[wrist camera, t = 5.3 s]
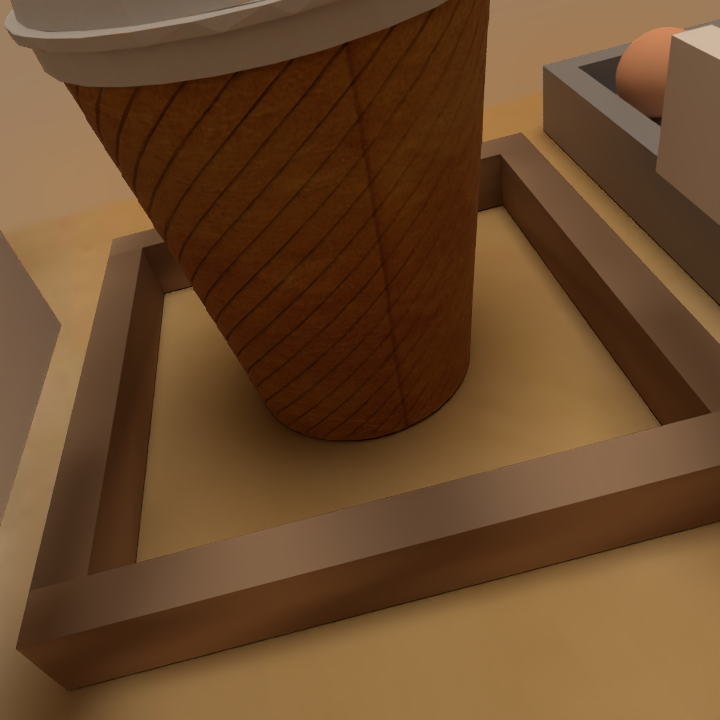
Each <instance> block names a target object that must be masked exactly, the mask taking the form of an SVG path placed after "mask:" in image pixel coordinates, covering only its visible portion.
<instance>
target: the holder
mask: <svg viewBox="0 0 720 720" xmlns="http://www.w3.org/2000/svg"><path fill="white" fill-rule="evenodd" d="M499 205H504V206H505V208H506V209H507V211H508V212H509V213H510V215H511V216H512V218H513V219H514V220H515V222H516V223H517V225H518V226H519V227H520V229H521V230H522V231H523V233H524V234H525V236H526V237H527V238H528V240H529V241H530V243H531V244H532V245H533V247H534V248H535V250H536V251H537V252H538V254H539V255H540V256H541V258H542V259H543V261H544V262H545V263H546V265H547V266H548V268H549V269H550V270H551V272H552V273H553V274H554V276H555V277H556V279H557V280H558V281H559V283H560V284H561V286H562V287H563V288H564V290H565V291H566V293H567V294H568V295H569V297H570V298H571V299H572V301H573V302H574V304H575V305H576V306H577V308H578V309H579V311H580V312H581V313H582V315H583V316H584V318H585V319H586V320H587V322H588V323H589V324H590V326H591V327H592V329H593V330H594V331H595V333H596V334H597V336H598V337H599V338H600V340H601V341H602V343H603V344H604V345H605V347H606V348H607V349H608V351H609V352H610V354H611V355H612V356H613V358H614V359H615V361H616V362H617V363H618V365H619V366H620V368H621V369H622V370H623V372H624V373H625V374H626V376H627V377H628V379H629V380H630V381H631V383H632V384H633V386H634V387H635V388H636V390H637V391H638V393H639V394H640V395H641V397H642V398H643V399H644V401H645V402H646V404H647V405H648V406H649V408H650V409H651V411H652V412H653V413H654V415H655V416H656V417H657V419H658V420H659V422H660V423H661V424H662V426H660V427H656V428H652V429H648V430H644V431H640V432H637V433H633V434H629V435H625V436H621V437H617V438H614V439H610V440H606V441H602V442H598V443H594V444H591V445H587V446H583V447H579V448H575V449H571V450H568V451H564V452H560V453H556V454H552V455H548V456H545V457H541V458H537V459H533V460H529V461H525V462H522V463H518V464H514V465H510V466H506V467H502V468H499V469H495V470H491V471H487V472H483V473H479V474H476V475H472V476H468V477H464V478H460V479H456V480H453V481H449V482H445V483H441V484H437V485H433V486H430V487H426V488H422V489H418V490H414V491H411V492H407V493H403V494H399V495H395V496H391V497H388V498H384V499H380V500H376V501H372V502H368V503H365V504H361V505H357V506H353V507H349V508H345V509H342V510H338V511H334V512H330V513H326V514H322V515H319V516H315V517H311V518H307V519H303V520H299V521H296V522H292V523H288V524H284V525H280V526H276V527H273V528H269V529H265V530H261V531H257V532H253V533H250V534H246V535H242V536H238V537H234V538H230V539H227V540H223V541H219V542H215V543H211V544H207V545H204V546H200V547H196V548H192V549H188V550H184V551H181V552H177V553H173V554H169V555H165V556H161V557H158V558H154V559H150V560H146V561H142V562H138V563H136V553H137V544H138V535H139V525H140V516H141V506H142V497H143V488H144V478H145V469H146V460H147V450H148V441H149V431H150V422H151V413H152V403H153V394H154V385H155V375H156V366H157V356H158V347H159V338H160V328H161V319H162V310H163V300H164V293H166V292H170V291H174V290H177V289H181V288H185V287H189V286H192V285H191V284H190V282H189V281H188V279H187V278H186V276H185V275H184V273H183V272H182V270H181V267H180V266H179V264H178V263H177V262H176V260H175V259H174V257H173V256H172V254H171V253H170V251H169V250H168V246H167V245H166V244H165V242H164V241H163V239H162V238H161V236H160V235H159V233H158V232H157V231H156V229H155V228H154V229H151V230H147V231H143V232H139V233H135V234H131V235H128V236H124V237H120V238H116V239H113V242H112V246H111V251H110V255H109V259H108V263H107V267H106V272H105V276H104V280H103V284H102V288H101V293H100V297H99V301H98V305H97V309H96V314H95V318H94V322H93V326H92V330H91V335H90V339H89V343H88V347H87V351H86V356H85V360H84V364H83V368H82V372H81V377H80V381H79V385H78V389H77V393H76V398H75V402H74V406H73V410H72V414H71V419H70V423H69V427H68V431H67V435H66V440H65V444H64V448H63V452H62V456H61V461H60V465H59V469H58V473H57V477H56V482H55V486H54V490H53V494H52V498H51V503H50V507H49V511H48V515H47V519H46V524H45V528H44V532H43V536H42V540H41V545H40V549H39V553H38V557H37V562H36V566H35V570H34V574H33V578H32V583H31V587H30V591H29V595H28V599H27V604H26V608H25V612H24V616H23V620H22V625H21V629H20V633H19V637H18V641H17V646H16V649H17V650H18V651H19V652H20V653H22V654H23V655H24V656H25V657H27V658H28V659H29V660H30V661H32V662H33V663H34V664H35V665H36V666H38V667H39V668H40V669H41V670H43V671H44V672H45V673H46V674H48V675H49V676H50V677H51V678H53V679H54V680H55V681H56V682H58V683H59V684H60V685H61V686H62V687H64V688H65V689H66V690H67V691H68V690H72V689H76V688H80V687H83V686H87V685H91V684H95V683H99V682H103V681H106V680H110V679H114V678H118V677H122V676H126V675H129V674H133V673H137V672H141V671H145V670H149V669H153V668H156V667H160V666H164V665H168V664H172V663H176V662H179V661H183V660H187V659H191V658H195V657H199V656H202V655H206V654H210V653H214V652H218V651H222V650H225V649H229V648H233V647H237V646H241V645H245V644H248V643H252V642H256V641H260V640H264V639H268V638H271V637H275V636H279V635H283V634H287V633H291V632H294V631H298V630H302V629H306V628H310V627H314V626H317V625H321V624H325V623H329V622H333V621H337V620H340V619H344V618H348V617H352V616H356V615H360V614H363V613H367V612H371V611H375V610H379V609H383V608H387V607H390V606H394V605H398V604H402V603H406V602H410V601H413V600H417V599H421V598H425V597H429V596H433V595H436V594H440V593H444V592H448V591H452V590H456V589H459V588H463V587H467V586H471V585H475V584H479V583H482V582H486V581H490V580H494V579H498V578H502V577H505V576H509V575H513V574H517V573H521V572H525V571H528V570H532V569H536V568H540V567H544V566H548V565H551V564H555V563H559V562H563V561H567V560H571V559H574V558H578V557H582V556H586V555H590V554H594V553H597V552H601V551H605V550H609V549H613V548H617V547H621V546H624V545H628V544H632V543H636V542H640V541H644V540H647V539H651V538H655V537H659V536H663V535H667V534H670V533H674V532H678V531H682V530H686V529H690V528H693V527H697V526H701V525H705V524H709V523H713V522H716V521H720V344H719V343H718V342H717V341H716V340H715V339H714V338H713V337H712V336H711V335H710V334H709V332H708V331H707V330H706V329H705V328H704V327H703V326H702V325H701V324H700V323H699V322H698V321H697V320H696V319H695V317H694V316H693V315H692V314H691V313H690V312H689V311H688V310H687V309H686V308H685V307H684V306H683V305H682V304H681V303H680V301H679V300H678V299H677V298H676V297H675V296H674V295H673V294H672V293H671V292H670V291H669V290H668V289H667V288H666V286H665V285H664V284H663V283H662V282H661V281H660V280H659V279H658V278H657V277H656V276H655V275H654V274H653V273H652V272H651V270H650V269H649V268H648V267H647V266H646V265H645V264H644V263H643V262H642V261H641V260H640V259H639V258H638V257H637V255H636V254H635V253H634V252H633V251H632V250H631V249H630V248H629V247H628V246H627V245H626V244H625V243H624V242H623V241H622V239H621V238H620V237H619V236H618V235H617V234H616V233H615V232H614V231H613V230H612V229H611V228H610V227H609V226H608V224H607V223H606V222H605V221H604V220H603V219H602V218H601V217H600V216H599V215H598V214H597V213H596V212H595V211H594V210H593V208H592V207H591V206H590V205H589V204H588V203H587V202H586V201H585V200H584V199H583V198H582V197H581V196H580V195H579V193H578V192H577V191H576V190H575V189H574V188H573V187H572V186H571V185H570V184H569V183H568V182H567V181H566V180H565V179H564V177H563V176H562V175H561V174H560V173H559V172H558V171H557V170H556V169H555V168H554V167H553V166H552V165H551V164H550V162H549V161H548V160H547V159H546V158H545V157H544V156H543V155H542V154H541V153H540V152H539V151H538V150H537V149H536V148H535V146H534V145H533V144H532V143H531V142H530V141H529V140H528V139H527V138H526V137H525V136H524V135H523V134H522V133H518V134H514V135H510V136H506V137H502V138H498V139H495V140H491V141H487V142H483V143H482V147H481V164H480V177H479V194H478V211H480V210H483V209H487V208H491V207H495V206H499Z"/></svg>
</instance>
